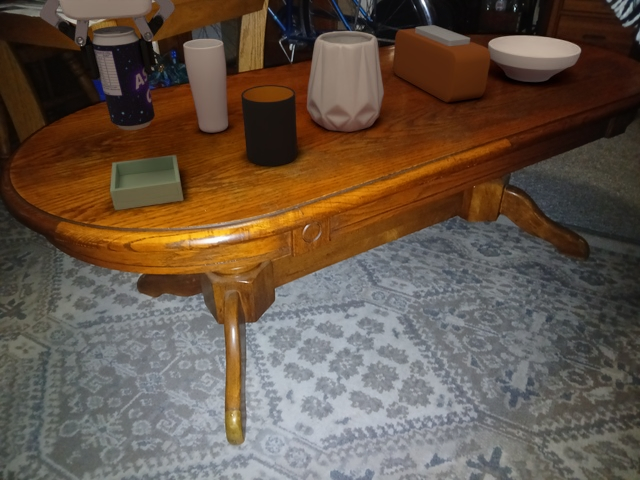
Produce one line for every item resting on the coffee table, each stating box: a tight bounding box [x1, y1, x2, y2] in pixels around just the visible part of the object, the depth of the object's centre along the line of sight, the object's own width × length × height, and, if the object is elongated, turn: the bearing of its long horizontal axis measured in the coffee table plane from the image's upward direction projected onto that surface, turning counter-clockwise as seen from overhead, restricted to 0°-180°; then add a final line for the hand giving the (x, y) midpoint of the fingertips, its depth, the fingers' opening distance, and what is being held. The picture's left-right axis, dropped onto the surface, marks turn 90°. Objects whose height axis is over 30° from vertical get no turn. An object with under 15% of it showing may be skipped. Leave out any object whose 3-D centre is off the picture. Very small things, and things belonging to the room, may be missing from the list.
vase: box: [306, 30, 385, 133], centre depth 92 cm, size 14×14×15 cm
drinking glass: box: [182, 38, 229, 134], centre depth 90 cm, size 7×7×15 cm
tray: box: [109, 154, 184, 211], centre depth 74 cm, size 9×9×3 cm
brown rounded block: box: [392, 24, 491, 104], centre depth 111 cm, size 24×8×11 cm, turn 22°
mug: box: [240, 84, 298, 167], centre depth 83 cm, size 8×12×10 cm
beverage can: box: [91, 25, 156, 131], centre depth 66 cm, size 6×6×12 cm
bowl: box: [487, 35, 582, 83], centre depth 116 cm, size 20×20×7 cm
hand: (123, 72), depth 65 cm, fingers closed on beverage can, 5 cm apart
